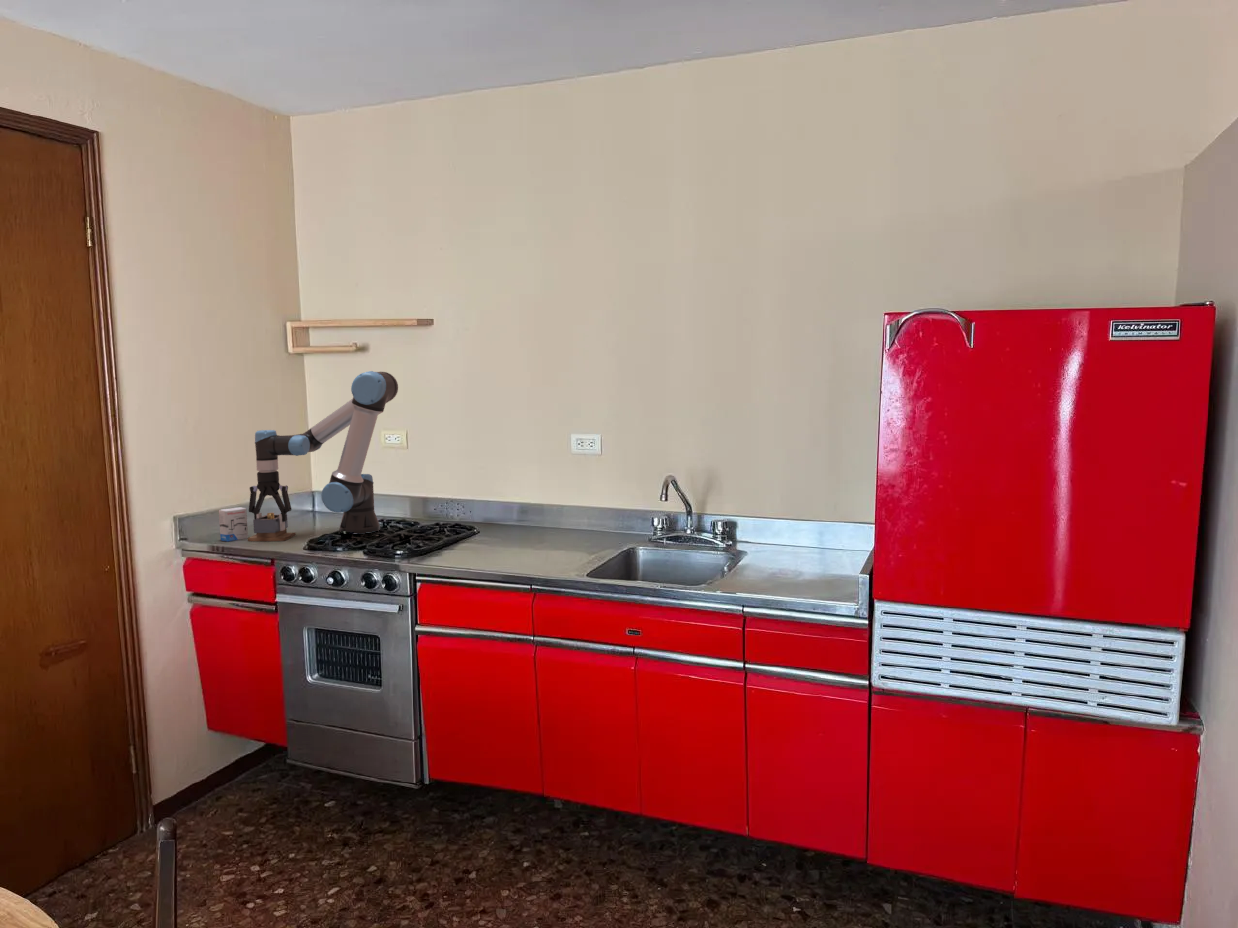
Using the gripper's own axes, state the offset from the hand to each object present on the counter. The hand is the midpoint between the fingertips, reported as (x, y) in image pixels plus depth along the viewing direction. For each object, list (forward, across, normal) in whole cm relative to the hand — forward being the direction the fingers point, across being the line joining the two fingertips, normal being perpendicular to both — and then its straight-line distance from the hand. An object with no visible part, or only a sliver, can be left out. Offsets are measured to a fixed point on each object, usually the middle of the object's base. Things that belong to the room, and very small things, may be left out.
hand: (271, 530), depth 310 cm
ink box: (+3, +14, +1) cm, 14 cm away
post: (0, 0, 0) cm, 0 cm away
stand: (+3, 0, 0) cm, 3 cm away
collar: (0, 0, 0) cm, 0 cm away
